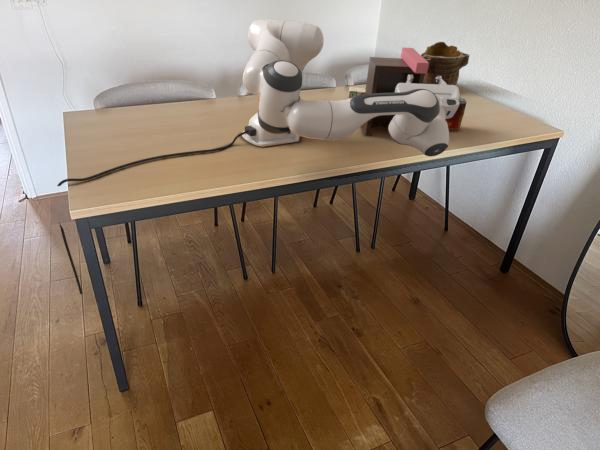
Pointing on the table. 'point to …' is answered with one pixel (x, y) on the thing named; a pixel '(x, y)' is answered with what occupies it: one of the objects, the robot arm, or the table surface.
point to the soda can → (457, 116)
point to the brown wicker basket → (444, 63)
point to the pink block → (414, 60)
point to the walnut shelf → (386, 83)
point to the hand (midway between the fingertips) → (424, 76)
